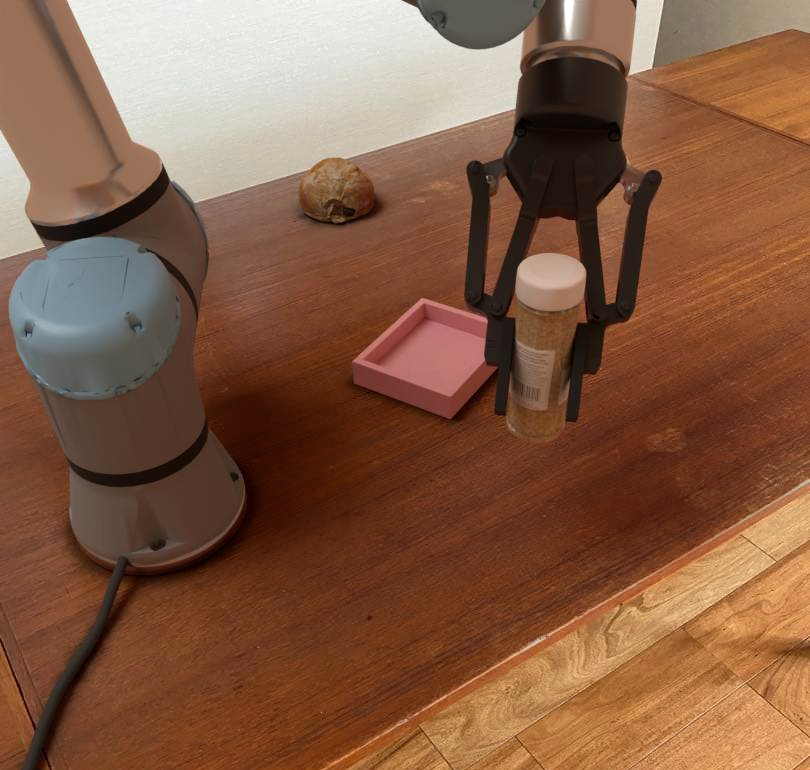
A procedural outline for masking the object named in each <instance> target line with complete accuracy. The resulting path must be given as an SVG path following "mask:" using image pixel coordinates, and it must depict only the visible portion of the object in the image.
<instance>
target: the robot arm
mask: <svg viewBox="0 0 810 770" xmlns="http://www.w3.org/2000/svg"><path fill="white" fill-rule="evenodd" d="M401 1H402V2H404V3H406V4H408V5H410V6H413V7H415V8H416V9H418V11H419V12H420V13H419V14H420V15H421V16H422V17H423V19H424V20H425V21H426V22H427V23H428V24H429V25H430V26H431V27H432V28H433V29H434V30H435V31H436V32H437V34H439V35H440V36H441V37H442V38H443V39H445V40H446V41H448V42H449V43H451V44H454V45H455V46H458V47H461V48H464V49H468V50H477V51H478V50H479V51H480V50H489V49H494V48H497V47H499V46H503V45H504V44H507V43H509V42H510V41H512V40H514V39H515V38H517V37H518V36H520V35H521V34H522V43H521V52H520V61H519V62H520V63H519V70H520V74H521V76H520V77H519V79H518V82H517V90H516V99H515V100H516V101H515V108H514V118H513V125H512V126H513V128H512V135H511V139H510V142H509V143H508V145H507V147H506V148H505V150H504V152H503V154H502V157H499V158H496V159H494V160H490V161H488V162H484V163H482V162H481V161H480V160H476V159H473V160H470V161H469V162H468V163H467V165H466V166H465V167H466V168H465V170H466V177H467V183H468V188H469V191H470V195H471V207H470V208H471V212H470V222H469V231H468V232H469V233H468V242H467V243H468V244H467V245H468V246H467V256H466V270H465V281H464V290H463V291H464V292H463V294H464V295H463V298H464V302H465V305H466V308H467V309H468V311H470V312H471V313H472V312H474V313H477V314H478V315H480V316H482V317H485V318H486V319H487V321H488V322H487V331H486V341H485V350H484V357H485V361H486V365H487V366H494V367H498V370H497V381H496V388H495V399H494V407H493V412H494V415H495V416H500V417H507V408H508V399H509V386H510V373H511V362H512V349H513V337H514V329H515V320H516V317H514V316H513V317H511V316H508V314H509V311H510V308H511V304H512V302H513V299H514V295H515V294H516V292H515V287H516V276H517V269H518V266H519V265H520V263H521V262H522V261H523V260H525V259H526V258H528V254H529V251H530V248H531V246H532V243H533V239H534V237H535V234H536V232H537V229H538V226H539V223H540V220H541V219H544V220H546V219H552V218H557V217H558V218H561V219H565V220H567V221H574V223H575V232H576V237H577V244H578V245H577V246H578V255H579V262H581V263H582V265H583V266H584V267H585V270H586V283H585V291H584V297H583V300H584V309H585V319H586V322H578V321H577V326H576V333H575V341H574V342H575V344H574V353H573V360H572V368H571V375H570V384H569V393H568V396H567V401H566V410H565V423H577V421H578V420H579V415H580V406H581V397H582V389H583V387H582V386H583V379H584V375H589V376H596V375H597V373H598V372H599V370H600V368H601V365H602V358H603V350H604V349H603V348H604V343H605V342H604V341H605V332H606V329H608V327H611V326H613V325H617V324H625V323H627V322H629V320H630V318H631V317H632V315H633V314H634V311H635V309H636V303H637V296H638V288H639V282H640V281H639V280H640V276H641V275H640V273H641V267H642V260H643V253H644V245H645V239H646V230H647V225H648V217H649V210H650V208H651V205H652V204H653V202H654V199H655V198H656V196H657V193H658V191H659V189H660V186H661V184H662V182H663V174H661V172H660V171H659V170H658V169H649V170H648V171H646V172H645V171H644V170H641V169H639V168H637V167H635V166H632V165H630V164H628V158H627V155H626V153H625V151H624V148H623V135H624V127H625V126H624V124H625V116H626V109H627V108H626V107H627V100H628V99H627V98H628V90H629V84H628V81H627V78H628V77H629V74H630V70H631V65H632V55H633V47H634V38H635V29H636V20H637V6H638V0H401ZM0 132H1V133H2V136H3V137H4V139H5V141H6V142H7V144H8V146H9V148H10V149H11V151H12V153H13V155H14V157H15V158H16V160H17V162H18V164H19V165H20V167H21V169H22V170H23V173H24V174H25V176H26V177H27V180H28V181H29V185H30V186H29V191H28V195H27V198H26V201H25V204H24V213H25V216H26V218H27V219H28V220H29V222H30V223H31V225H32V227H33V229H34V231H35V232H36V234H37V236H38V238H39V239H40V242H41V243H42V245H43V246H44V248H45V250H46V251H47V252H45V258H44V259H35V260H33V261H32V262H30V263H29V264H28V265H27V266H26V267H25V268H24V269H23V270H22V272H21V273H20V275H19V276H18V277H17V279H16V281H15V282H14V283H13V286H12V288H11V291H10V295H9V300H8V308H7V309H8V319H9V323H10V327H11V330H12V332H13V338H14V341H15V346H16V352H17V353H18V356H19V358H20V361H21V363H22V364H23V365H24V367H25V370H26V371H27V372H28V375H29V376H30V378H31V381H32V383H33V386H34V388H35V391H36V393H37V394H38V397H39V399H40V402H41V404H42V406H43V408H44V411H45V413H46V416H47V417H48V420H49V422H50V424H51V426H52V429H53V432H54V434H55V435H56V436H55V437H56V438H57V440H58V443H59V446H60V448H61V450H62V452H63V454H64V457H65V459H66V461H67V463H68V466H69V505H68V516H69V522H70V527H71V530H72V532H73V534H74V537H75V539H76V541H77V544H78V545H79V547H80V549H81V551H82V552H83V554H85V555H86V557H88V558H89V559H90V560H91V561H92V562H94V563H96V564H97V565H99V566H100V567H102V568H105V569H106V570H109V571H112V574H111V577H110V579H109V582H108V585H107V588H106V590H105V593H104V595H103V596H104V597H103V599H102V602H101V604H100V608H99V611H98V614H97V617H96V618H95V620H94V623H93V625H92V627H91V628H90V630H89V632H88V633H87V635H86V637H85V639H84V641H83V642H82V643H81V645H80V647H79V648H78V650H77V651H76V653H74V655H73V657H72V659H71V660H70V661H69V663H68V664H67V666H66V667H65V668H64V670H63V672H62V673H61V675H60V677H59V678H58V680H57V681H56V683H55V685H54V687H53V689H52V691H51V693H50V695H49V697H48V699H47V700H46V703H45V705H44V708H43V710H42V712H41V713H40V714H41V715H40V717H39V719H38V721H37V724H36V727H35V730H34V733H33V736H32V739H31V742H30V745H29V747H28V750H27V753H26V755H25V759H24V763H23V764H22V765H23V766H22V767H21V770H37V769H36V768H37V765H38V763H39V759H40V757H41V753H42V750H43V748H44V745H45V742H46V738H47V736H48V733H49V729H50V727H51V725H52V722H53V719H54V717H55V714H56V712H57V709H58V707H59V706H60V703H61V701H62V699H63V697H64V695H65V693H66V692H67V689H68V688H69V686H70V684H71V683H72V682H73V679H74V678H75V676H76V675H77V673H78V672H79V670H80V669H81V667H82V666H83V664H84V663H85V661H86V660H87V658H88V657H89V656H90V654H91V653H92V650H93V649H94V648H95V646H96V644H97V642H98V640H99V639H100V637H101V635H102V633H103V631H104V629H105V627H106V624H107V623H108V620H109V618H110V615H111V612H112V609H113V606H114V603H115V600H116V596H117V594H118V592H119V588H120V586H121V583H122V580H123V577H124V575H130V576H131V575H133V576H153V575H161V574H167V573H173V572H176V571H179V570H182V569H186V568H188V567H190V566H193V565H195V564H197V563H200V562H202V561H203V560H205V559H207V558H209V557H210V556H212V555H213V554H215V553H216V552H218V551H219V550H221V548H223V547H224V546H225V545H226V544H227V543H228V542H229V541H230V540H231V539H232V538H233V537H234V535H235V534H236V533H237V532H238V530H239V528H240V527H241V525H242V523H243V522H244V520H245V516H246V513H247V509H248V495H247V494H248V493H247V490H246V485H245V480H244V477H243V474H242V472H241V470H240V469H239V467H238V465H237V463H236V462H235V460H234V459H233V457H232V456H231V455H230V453H229V452H228V451H227V450H226V448H225V446H224V445H223V444H222V442H221V441H220V440H219V439H218V437H217V436H216V434H215V433H214V432H213V431H212V429H211V428H210V426H209V423H208V418H207V415H206V412H205V406H204V402H203V399H202V395H201V391H200V386H199V382H198V379H197V374H196V370H195V363H194V348H195V344H196V343H195V341H196V336H197V328H198V323H199V316H200V309H201V303H202V297H203V296H202V295H203V290H204V285H205V281H206V279H207V275H208V272H209V271H208V269H209V264H210V263H209V262H210V253H209V249H210V248H209V240H208V236H207V235H208V234H207V229H206V226H205V225H206V224H205V222H204V220H203V217H202V214H201V212H200V210H199V208H198V207H197V205H196V203H195V202H194V200H193V198H192V197H191V196H190V195H189V193H187V191H186V190H185V189H184V188H183V187H182V186H180V184H179V183H177V182H176V181H175V180H171V178H170V177H169V174H168V171H167V169H166V167H165V165H164V163H163V160H162V158H161V156H160V155H159V154H158V153H157V152H156V151H155V150H153V149H151V148H149V147H147V146H145V145H142V144H140V143H137V142H135V141H134V140H132V138H131V136H130V134H129V131H128V129H127V127H126V125H125V123H124V121H123V118H122V116H121V114H120V112H119V110H118V107H117V106H116V103H115V101H114V99H113V96H112V94H111V92H110V90H109V87H108V86H107V84H106V82H105V79H104V77H103V75H102V72H101V71H100V69H99V66H98V65H97V63H96V60H95V58H94V56H93V54H92V51H91V49H90V47H89V45H88V43H87V41H86V38H85V36H84V34H83V32H82V30H81V28H80V25H79V23H78V21H77V19H76V17H75V15H74V12H73V10H72V8H71V6H70V4H69V2H68V0H0ZM505 177H506V178H507V180H508V182H509V184H510V185H511V186H512V189H513V190H514V192H515V194H516V195H517V197H518V199H519V201H520V202H521V206H520V209H519V211H518V216H517V220H516V223H515V225H514V229H513V232H512V235H511V238H510V241H509V244H508V246H507V250H506V253H505V256H504V258H503V262H502V265H501V268H500V271H499V274H498V276H497V280H496V283H495V286H494V289H493V292H492V294H491V295H490V294H488V293H486V292H485V285H486V273H487V262H488V253H489V252H488V251H489V241H490V240H489V239H490V238H489V237H490V228H491V219H492V217H491V216H492V204H491V198H492V197H494V196H496V195H497V194H498V192H499V190H500V182H501V180H502V179H503V178H505ZM618 184H621V185H622V186H623V195H622V198H623V201H624V203H626V205H629V209H628V212H627V216H626V220H625V226H624V235H623V244H622V248H621V249H622V250H621V257H620V264H619V269H618V270H619V271H618V276H617V277H618V278H617V286H616V293H615V300H614V302H611V303H607V299H606V298H607V297H606V291H605V290H606V289H605V279H604V271H603V262H602V253H601V244H600V243H601V242H600V234H599V225H598V222H599V221H598V207H599V206H600V204H602V202H603V201H604V200H605V199H606V198H607V197H608V196H609V194H610V193H611V192H612V191H613V190H614V188H616V186H617V185H618Z"/></svg>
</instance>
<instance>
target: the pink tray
mask: <svg viewBox="0 0 810 770" xmlns="http://www.w3.org/2000/svg"><path fill="white" fill-rule="evenodd" d="M487 322H488V321H487V319H486V318H485V316H482V315H479V314H474V313H472V312H468V311H466V310H462V309H459V308H456V307H453V306H450V305H446V304H443V303H440V302H438V301H437V302H436V301H434V300H431V299H429V298H428V299H427V298H424V297H421V298H420V299H419V300H418V301H417V302H415V304H413V305H412V306H411V307H410V308H409V309H408V310H406V312H405V313H404V314H402V315H401V316H400V317H399V318H398V319H397V320H395V322H394V323H393V324H391V325H390V326H389V327H388V328H387V329H386V330H384V331H383V332H382V333H381V334H380V335H379V336H378V337H377V338H376V339H374V340H373V342H372V343H371V344H369V345H368V346H367V347H366V348H365V349H364V350H363V351H361V353H359V354H358V355H357V356H356V357H355V358H354V359H353V360H352V361H351V363H352V374H353V375H352V376H353V384H354V385H356V386H357V385H358V386H359V387H363V388H365V389H368V390H370V391H373V392H375V393H376V392H377V393H379V394H382V395H384V396H387V397H389V398H392V399H395V400H397V401H400V402H403V403H405V404H408V405H410V406H413V407H416V408H418V409H422V410H424V411H427V412H430V413H432V414H435V415H437V416H440V417H443V418H446V419H448V420H452V418H453V417H454V416H455V415H457V413H458V412H459V411H460V410H461V409H462V408H463V406H464V405H466V403H467V402H468V401H469V400H470V399H471V397H472V396H474V394H475V393H476V392H477V391H478V390H479V389H480V388H481V387H482V386H483V385H484V383H485V382H486V381H488V379H489V378H490V377H491V376H492V375H493V373H494V372H496V370H497V369H499V367H494V366H487V365H486V361H485V357H484V350H485V341H486V331H487Z"/></svg>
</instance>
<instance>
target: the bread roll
mask: <svg viewBox="0 0 810 770" xmlns="http://www.w3.org/2000/svg"><path fill="white" fill-rule="evenodd" d="M297 194H298V195H297V196H298V204H299V207H300V210H301V211H302V212H303V213H305V214H306V215H307V216H308V217H311V218H313V219H314V220H317V221H319V222H322V223H333V224H335V225H338V224H341V223H343V222H348V221H350V220H351V221H352V220H355V219H357V218H358V217H361V216H365V215H367V214H369V213H370V212H371V210H372V209H373V206H374V204H375V199H376V195H375V187H374V182H373V180H372V178H371V177H370V175H369V174H368V173H367V172H366V171H365V170H364V169H363V168H362V167H361V166H359V165H357V164H355V163H354V162H353V161H351V160H349V159H345V158H343V157H327V158H324V159H322V160H320V161H318V162H317V163H316V164H314V165H313V166H312V167H310V169H309V170H308V172H307V173H306V174H305V175H304V176H303V177H302V178H301V179H300V182H299V183H298V189H297Z"/></svg>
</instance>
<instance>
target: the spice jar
mask: <svg viewBox="0 0 810 770" xmlns="http://www.w3.org/2000/svg"><path fill="white" fill-rule="evenodd" d="M585 283H586V270H585V267H584V266H583V265H582V263H581V262H580V260H578V259H577V258H575V257H573V256H570V255H567V254H564V253H558V252H542V253H537V254H533V255H531V256H527V257H526V259H525V260H523V261H522V262H521V263H520V265H519V266H518V269H517V276H516V287H515V296H516V298H517V299H516V308H515V309H516V310H515V329H514V337H513V349H512V362H511V373H510V382H509V391H508V393H509V398H508V399H509V401H508V412H507V414H506V420H505V424H506V427H507V430H508V431H509V433H510V434H511V435H512V436H514V437H515V438H517V439H519V440H521V441H524V442H527V443H530V444H544V443H550V442H551V441H554V440H556V439H558V437H559V436H560V435H561V434H562V433H563V432H564V429H565V426H566V422H565V420H566V410H567V402H568V393H569V384H570V375H571V368H572V360H573V353H574V344H575V342H574V341H575V333H576V327H577V324H578V318H579V311H580V310H579V309H580V306H581V304H582V301H583V300H584V291H585Z"/></svg>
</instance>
